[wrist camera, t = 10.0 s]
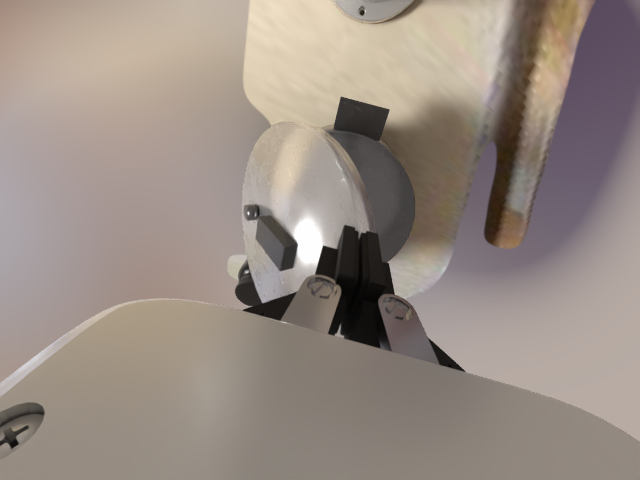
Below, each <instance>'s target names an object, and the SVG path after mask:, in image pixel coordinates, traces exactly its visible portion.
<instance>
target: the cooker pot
mask: <svg viewBox="0 0 640 480" xmlns="http://www.w3.org/2000/svg"><path fill="white" fill-rule="evenodd" d="M388 113H389V109H385V108H382V107H378V106H374V105H370V104H367V103H363V102H359V101H355V100H351V99H348V98H344V97H341V99H340V103H339V107H338V111H337V116H336V120H335V124H334V125H330V126H326V127H323V128H321V129H322V130H324V131H325V132H327V133H329V134H330V135H331V136H332V137H333V138H334V139H336V140H337V141H338V142H339V143H340V145H341V146H342V147H343V148H344V149H345V151H346V152H347V153H348V155H349V156H350V158H351V159H352V161H353V163H354V164H355V166H356V168H357V170H358V172H359V174H360V176H361V179H362V181H363V183H364V185H365V188H366V191H367V194H368V197H369V200H370V204H371V208H372V213H373V217H374V222H375V229H376V233H377V234H378V237H379V243H380V250H381V257H382V262H386V263H387V262H388V261H389V260H391V259H392V258H393V257H394V256H395V255H396V254H397V253H398V252H399V250H400V249H401V248H402V246H403V245H404V243H405V242H406V240H407V238H408V236H409V234H410V231H411V229H412V225H413V221H414V215H415V198H414V193H413V188H412V185H411V183H410V180H409V177H408V176H407V174H406V172H405V170H404V168H403V167H402V165H401V164H400V163H399V161H398V160H397V158H396V157H395V155H394V154H393V152H392V151H391V150H390V148H389V147H388V146H387V144H386V143H385V142H384V141H383V140H382V139H381V138H380V137H381V134H382V131H383V128H384V125H385V122H386V119H387V116H388Z"/></svg>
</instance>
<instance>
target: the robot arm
mask: <svg viewBox="0 0 640 480" xmlns="http://www.w3.org/2000/svg"><path fill="white" fill-rule="evenodd" d="M332 1H333V2H334V4H335V5H336V7H337V8H338V9H339V10H340V11H341V12H342V13H343V14H345V15H346V16H348V17H349V18H351V19H353V20H355V21H358V22H362V23H372V24H373V23H379V22H384V21H386V20H388V19H391V18H393V17H395V16H396V15H398V14H399V13H401V12H402V11H404V10H405V9H406V8H407V7H408V6H409V5H410V4H411V3H412V2H413V1H414V0H332ZM361 11H364V15H362V16H361V15H360V12H361ZM340 325H341V328H340V335H343V336H344V338H340V337H337V336H335V334H337V332H338V330H339V327H340ZM0 480H640V442H639V441H638V440H636V439H635V438H633V437H632V436H630V435H628V434H627V433H625V432H624V431H622V430H621V429H619V428H617V427H615V426H614V425H612V424H610V423H608V422H607V421H605V420H603V419H601V418H599V417H597V416H595V415H593V414H591V413H589V412H587V411H584V410H582V409H580V408H578V407H575V406H572V405H570V404H567V403H565V402H562V401H560V400H557V399H554V398H551V397H548V396H544V395H541V394H538V393H535V392H532V391H529V390H526V389H522V388H519V387H515V386H512V385H509V384H505V383H501V382H498V381H494V380H491V379H487V378H483V377H480V376H477V375H473V374H469V373H466V372H465V371H464V370H463V369H462V368H461V367H460V366H459V365H458V364H456V362H455V361H454V360H452V359H451V358H450V357H449V356H448V355H447V354H446V353H445V352H444V351H442V350H441V349H440V348H439V347H438V346H437V345H435V343H433V342H432V341H431V340H430V339H429V338H428V337H427V335H426V333H425V331H424V328H423V326H422V324H421V322H420V320H419V317H418V315H417V313H416V311H415V309H414V308H413V306H412V305H411V304H410V303H409V302H408V301H406V300H405V299H403V298H401V297H399V296H397V295H395V294H394V288H393V283H392V278H391V272H390V267H389V263H386V262H382V257H381V250H380V243H379V237H378V234H377V233H374V232H370V231H366V233H361V235H360V238H359V231H355V227H352V226H348V225H344V227H343V230H342V233H341V236H340V239H339V242H338V246H337V249H335V248H331V247H327V246H324V245H323V247H322V250H321V254H320V258H319V261H318V265H317V269H316V272H315V275H311V276H309V277H307V278H306V279H305V280H304V281H303V283H302V285H301V286H300V288H299V290H298V292H295V293H292V294H289V295H286V296H283V297H280V298H277V299H274V300H271V301H268V302H265V303H262V304H259V305H256V306H253V307H250V308H247V309H244V310H242V311H241V310H237V309H232V308H229V307H224V306H220V305H216V304H211V303H207V302H201V301H195V300H186V299H173V298H166V299H165V298H164V299H144V300H137V301H131V302H126V303H123V304H120V305H116V306H114V307H112V308H109V309H107V310H105V311H103V312H101V313H99V314H97V315H95V316H93V317H92V318H90V319H88V320H87V321H85V322H83V323H82V324H80V325H79V326H77V327H76V328H74V329H73V330H72V331H70V332H68V333H67V334H65V335H64V336H62V337H61V338H60V339H58V340H57V341H55V342H54V343H53V344H51V345H50V346H49V347H47V348H46V349H44V350H43V351H41V352H40V353H39V354H37V356H35V357H33V358H32V359H31V360H30V361H28V362H27V363H26V364H24V365H23V366H22V367H20V368H19V369H18V370H17V371H15V372H14V373H12V374H11V375H10V376H8V377H7V378H6V379H5V380H3V381H2V382H1V383H0Z"/></svg>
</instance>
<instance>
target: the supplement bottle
mask: <svg viewBox="0 0 640 480" xmlns="http://www.w3.org/2000/svg"><path fill="white" fill-rule="evenodd" d="M238 279H239V283H238V285H237V287H236V289H235V293H236V296H237V298H238V299H239V300H240V301H241V302H242V303H244V304H246V305H248V306H256V305H259V304H262V301H261V299H260V297H259V294H258V292H257V290H256V287H255V284H254V281H253V278H252V275H251V272H250V268H249V264H248V260H246V261H245V263H244V264H243V265H242V267H241V269H240V270H239V274H238Z"/></svg>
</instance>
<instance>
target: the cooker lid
mask: <svg viewBox="0 0 640 480" xmlns="http://www.w3.org/2000/svg"><path fill="white" fill-rule="evenodd" d="M344 225H348V226H352V227H355V231H359V238H360V235H361V233H366V231H370V232H374V233H376V229H375V222H374V217H373V213H372V208H371V204H370V200H369V197H368V194H367V191H366V188H365V185H364V183H363V181H362V179H361V176H360V174H359V172H358V170H357V168H356V166H355V164H354V163H353V161H352V159H351V158H350V156H349V155H348V153H347V152H346V151H345V149H344V148H343V147H342V146H341V145H340V143H339V142H338V141H337V140H336V139H334V138H333V137H332V136H331V135H330V134H329V133H327V132H325V131H324V130H322V129H320V128H318V127H315V126H311V125H307V124H301V123H295V122H281V123H277V124H275V125H273V126H271V127H270V128H268V129H267V130H266V131H265V132H264V133H263V134H262V135H261V137H260V138H259V139H258V141H257V142H256V144H255V146H254V148H253V150H252V153H251V155H250V157H249V161H248V164H247V167H246V172H245V176H244V183H243V192H242V228H243V237H244V244H245V250H246V255H247V260H248V264H249V268H250V272H251V275H252V278H253V281H254V284H255V287H256V290H257V292H258V294H259V297H260V299H261V301H262V303H265V302H268V301H271V300H274V299H277V298H280V297H283V296H286V295H289V294H292V293H295V292H298V290H299V288H300V286H301V285H302V283H303V281H304V280H305V279H306V278H307V277H309V276H311V275H315V272H316V269H317V265H318V261H319V258H320V254H321V250H322V247H323V245H324V246H327V247H331V248H335V249H337V246H338V242H339V239H340V236H341V233H342V230H343V227H344ZM340 328H341V325H340V327H339V330H338V332H337V334H335V336H337V337H340V338H344V336H343V335H340Z"/></svg>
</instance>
